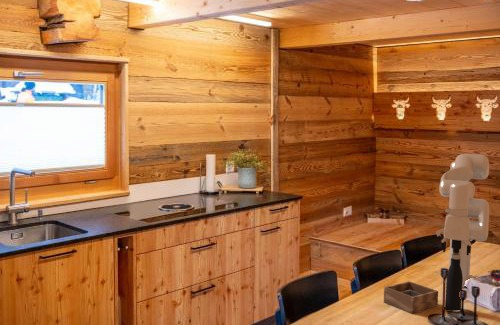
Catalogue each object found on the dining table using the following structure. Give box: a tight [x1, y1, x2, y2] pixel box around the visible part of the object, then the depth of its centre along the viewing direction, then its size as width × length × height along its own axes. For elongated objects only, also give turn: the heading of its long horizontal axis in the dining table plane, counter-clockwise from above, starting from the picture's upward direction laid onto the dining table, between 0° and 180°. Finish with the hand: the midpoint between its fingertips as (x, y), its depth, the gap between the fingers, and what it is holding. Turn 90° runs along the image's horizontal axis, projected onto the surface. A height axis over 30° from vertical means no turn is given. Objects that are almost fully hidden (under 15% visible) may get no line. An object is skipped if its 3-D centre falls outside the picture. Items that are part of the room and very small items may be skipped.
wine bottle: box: [444, 240, 463, 311], centre depth 244 cm, size 6×6×30 cm
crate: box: [383, 280, 439, 315], centre depth 250 cm, size 16×16×7 cm
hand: (456, 252), depth 243 cm, fingers open, 9 cm apart
